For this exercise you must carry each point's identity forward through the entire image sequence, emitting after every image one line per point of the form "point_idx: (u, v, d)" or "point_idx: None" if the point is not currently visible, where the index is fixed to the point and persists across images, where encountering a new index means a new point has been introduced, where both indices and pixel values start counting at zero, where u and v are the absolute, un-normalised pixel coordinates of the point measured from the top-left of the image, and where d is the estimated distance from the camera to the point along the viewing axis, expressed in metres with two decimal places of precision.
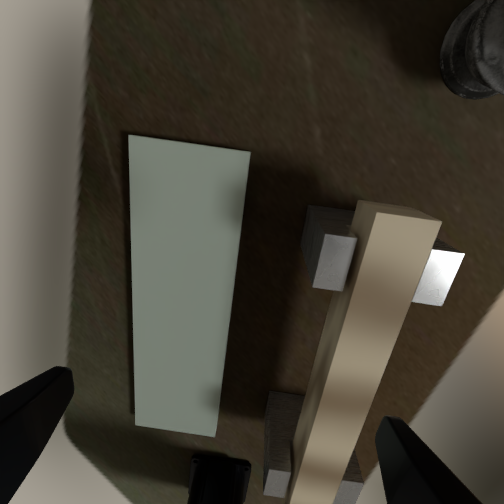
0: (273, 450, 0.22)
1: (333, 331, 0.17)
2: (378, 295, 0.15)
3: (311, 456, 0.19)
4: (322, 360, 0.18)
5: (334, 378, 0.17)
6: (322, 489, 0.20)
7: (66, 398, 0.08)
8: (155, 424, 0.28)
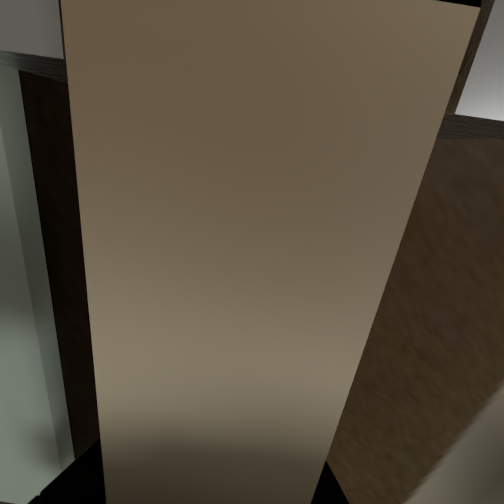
0: None
1: None
2: (238, 19, 0.02)
3: None
4: None
5: (132, 487, 0.04)
6: None
7: None
8: None
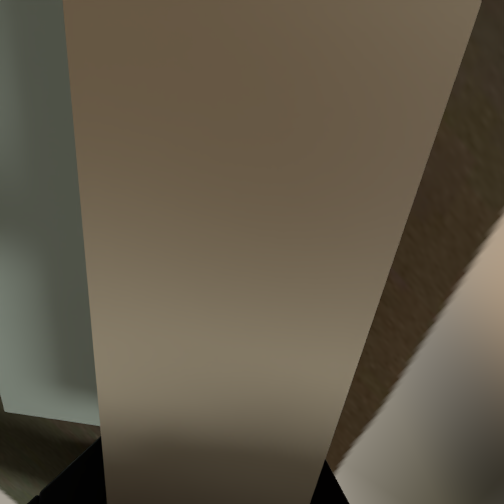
0: None
1: None
2: (238, 20, 0.02)
3: None
4: None
5: (132, 486, 0.04)
6: None
7: None
8: (31, 410, 0.21)
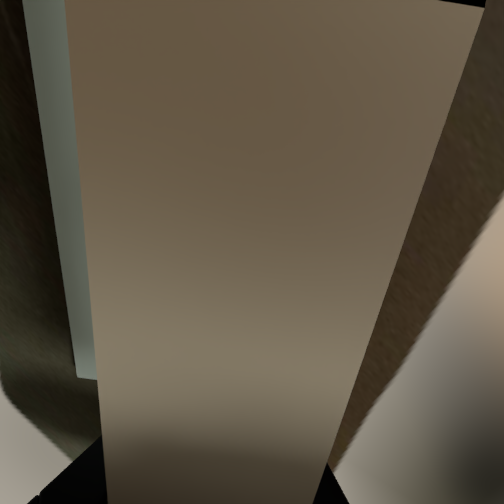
0: None
1: None
2: (242, 18, 0.02)
3: None
4: None
5: (133, 487, 0.04)
6: None
7: None
8: None
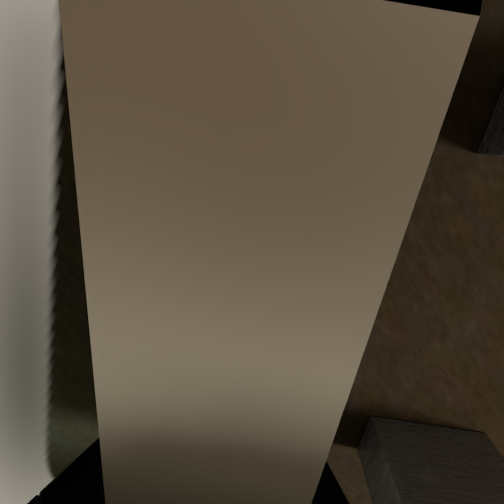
0: None
1: None
2: (239, 10, 0.02)
3: None
4: None
5: (131, 486, 0.04)
6: None
7: None
8: None
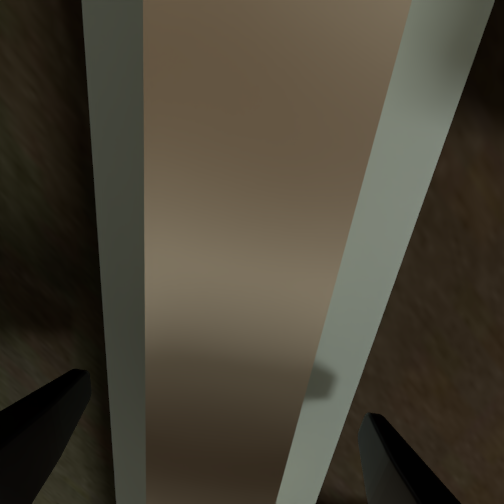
0: None
1: None
2: (252, 63, 0.03)
3: None
4: None
5: (166, 400, 0.06)
6: None
7: (84, 401, 0.08)
8: None
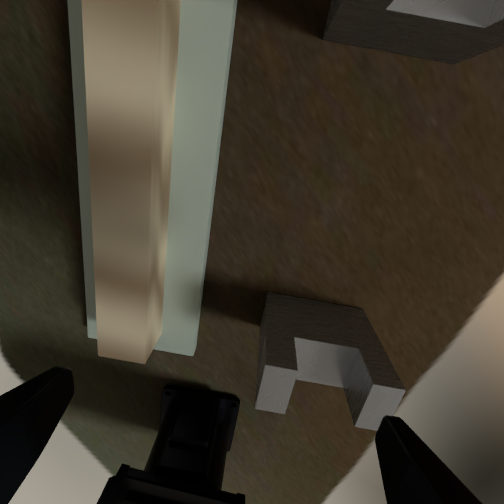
0: (272, 346, 0.15)
1: None
2: None
3: (101, 253, 0.16)
4: None
5: (95, 115, 0.13)
6: (128, 309, 0.17)
7: (66, 398, 0.08)
8: None
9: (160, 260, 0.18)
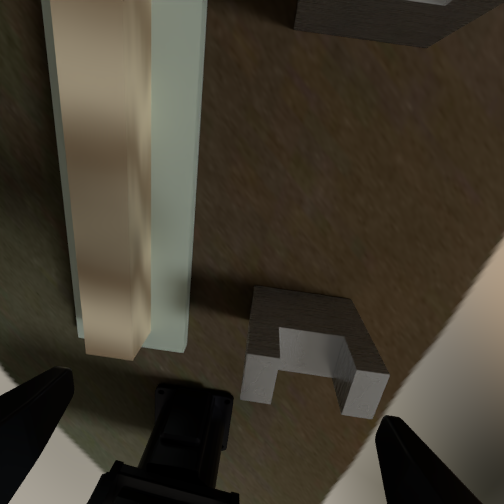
0: (255, 336, 0.15)
1: None
2: None
3: (83, 249, 0.16)
4: None
5: (69, 111, 0.13)
6: (113, 304, 0.17)
7: (66, 398, 0.08)
8: None
9: (144, 255, 0.18)
